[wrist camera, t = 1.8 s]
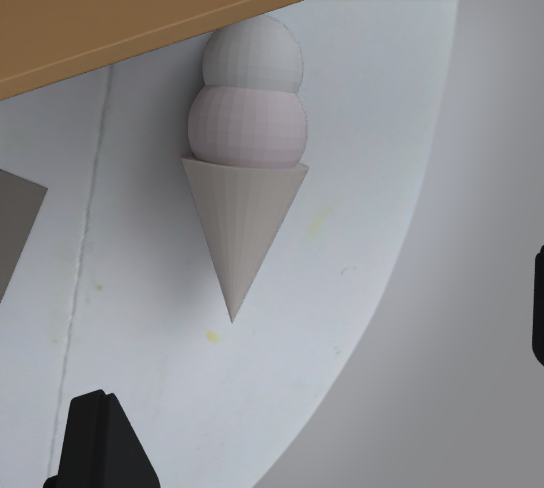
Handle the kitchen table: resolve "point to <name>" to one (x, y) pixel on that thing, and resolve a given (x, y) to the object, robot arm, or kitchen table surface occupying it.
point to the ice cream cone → (246, 146)
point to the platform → (15, 220)
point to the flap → (101, 33)
